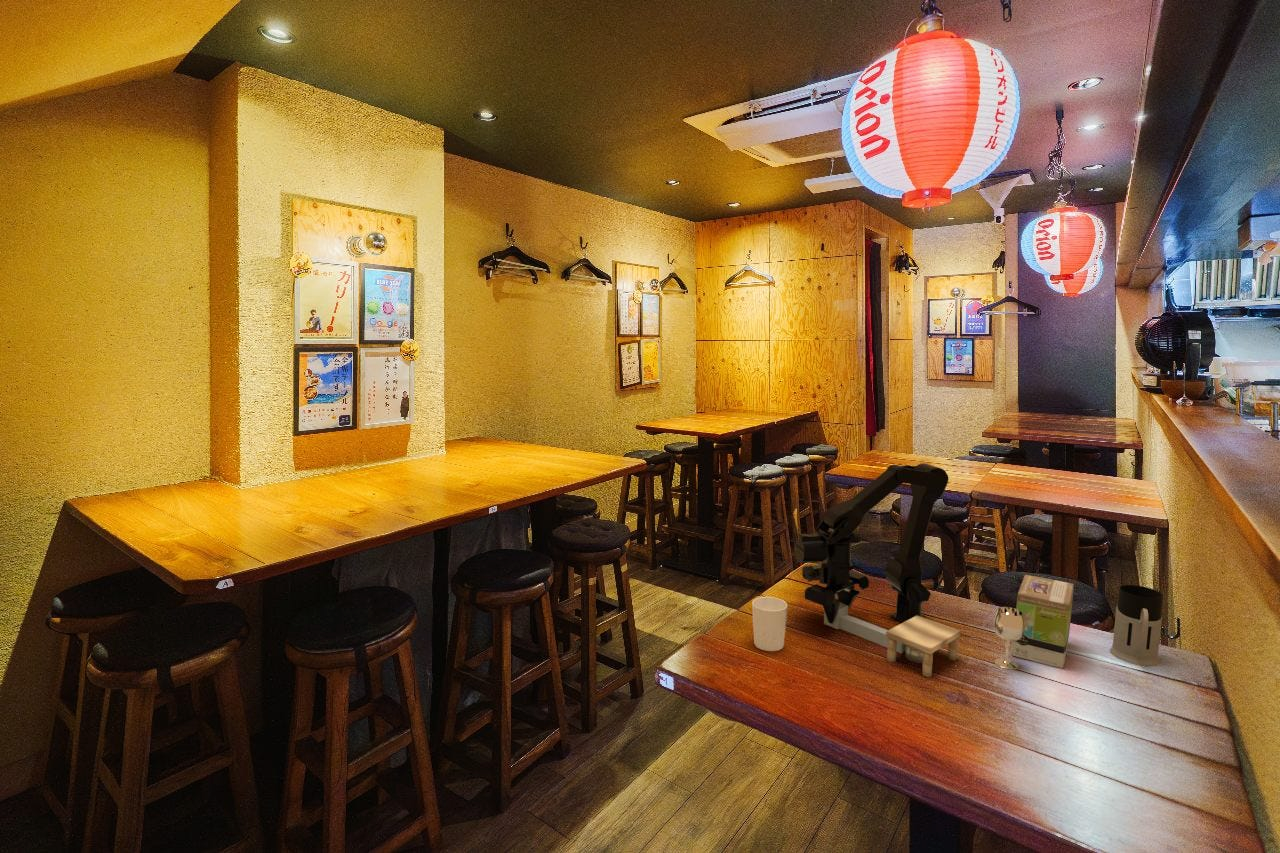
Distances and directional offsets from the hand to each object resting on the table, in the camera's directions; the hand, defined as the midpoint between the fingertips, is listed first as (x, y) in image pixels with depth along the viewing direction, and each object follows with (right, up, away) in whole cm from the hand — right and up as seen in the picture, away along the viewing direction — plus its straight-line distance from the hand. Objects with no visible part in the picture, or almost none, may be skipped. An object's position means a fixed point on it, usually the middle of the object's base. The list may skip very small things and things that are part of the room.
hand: (835, 620), depth 155 cm
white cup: (-19, -3, -10) cm, 21 cm away
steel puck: (+13, -3, -16) cm, 21 cm away
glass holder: (+59, -3, -19) cm, 62 cm away
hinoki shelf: (+14, -3, -17) cm, 22 cm away
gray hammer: (+5, -2, -6) cm, 8 cm away
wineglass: (+31, -4, -20) cm, 37 cm away
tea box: (+42, -3, -13) cm, 44 cm away
